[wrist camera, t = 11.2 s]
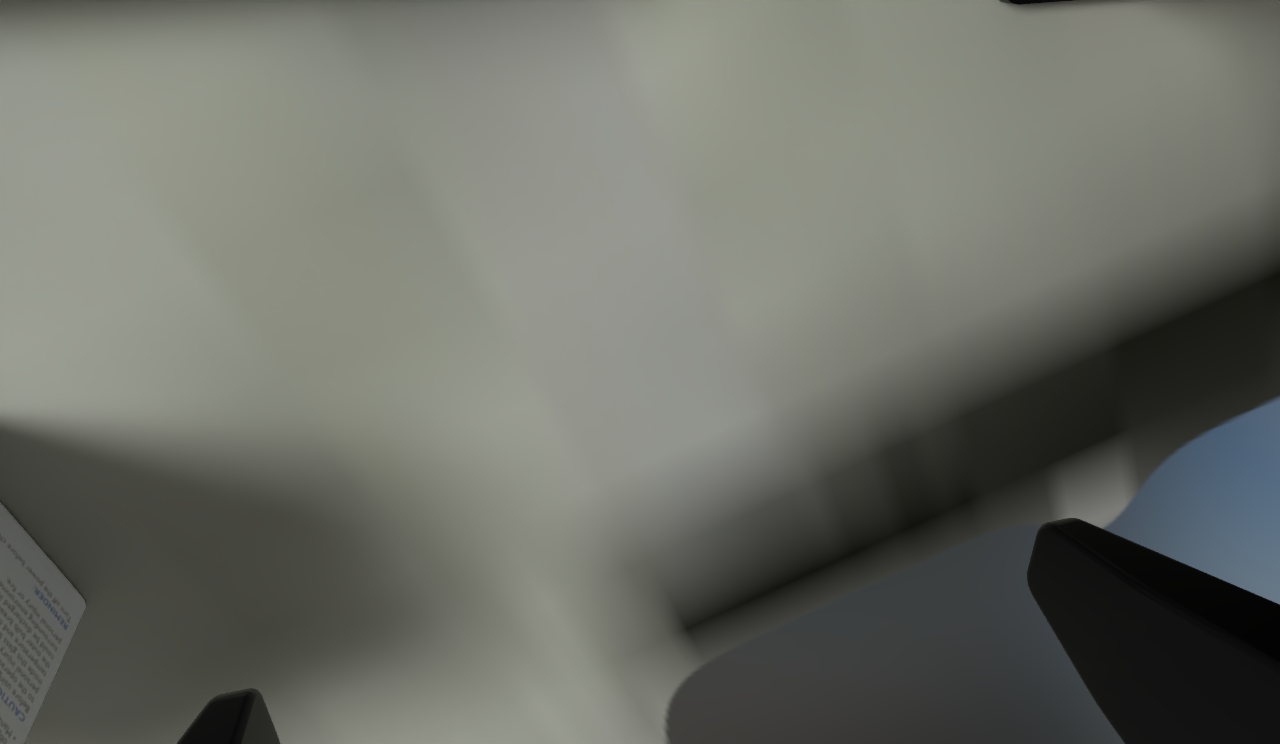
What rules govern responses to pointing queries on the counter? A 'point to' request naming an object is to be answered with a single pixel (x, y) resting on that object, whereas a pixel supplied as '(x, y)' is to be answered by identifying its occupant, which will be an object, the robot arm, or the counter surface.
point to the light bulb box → (30, 627)
